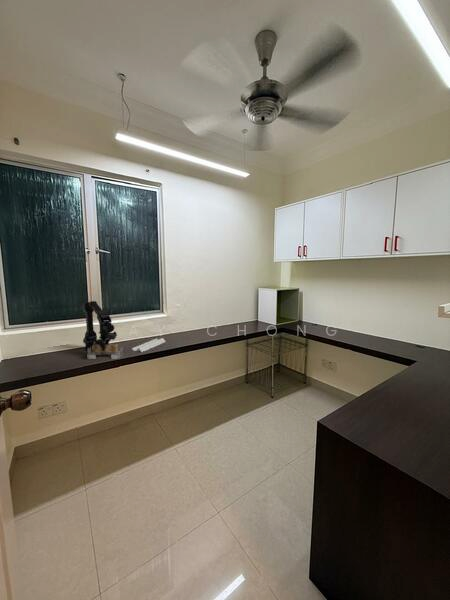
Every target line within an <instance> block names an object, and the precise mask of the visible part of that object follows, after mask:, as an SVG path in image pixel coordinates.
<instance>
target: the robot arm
mask: <svg viewBox="0 0 450 600" xmlns="http://www.w3.org/2000/svg"><path fill="white" fill-rule="evenodd" d="M81 308H82V311H83V312H84V313H85V323H86V331H85V333H84V337H83V339H82V342H83V343H84V345H85V346H84V347H85V349H84V351H88V348H89V347H91V351H92V345H94V344H99V345H100V347H101V348H102V350H103V351H105V344H110V342H111V340H112V341H114V340H116V338H117V337H118V334H117V332H116V331H115V326H114V325H113V324H112V318H111V316H110V314H109V313H108V312H107V311H104V310H103V309H102V308H101V306H100V305H99V304H98V302H97V301H96V300H92V301H88V302H83V303H82V305H81ZM93 313H95V314H96V318H97V320H98V324H99V332H98V334H99V335H100V336H97V332H96V331H95V330H94V319H93V318H94V317H93V316H94V315H93ZM98 337H99V338H98Z"/></svg>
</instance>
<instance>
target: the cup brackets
mask: <svg viewBox="0 0 450 600" xmlns="http://www.w3.org/2000/svg"><path fill="white" fill-rule="evenodd" d="M123 348H124V347H122V346H121V347H119V350H118V351H117V352H114V353H113V354H111V355H110V357H111V359H112V360H113V359H116V360H117V359H120V358H122V357H123V356H124V351H123V350H124V349H123ZM97 356H101V352H92V350H91V347H89V348H88V350H87V359H89V360H92V359H95V360H96V359H97Z"/></svg>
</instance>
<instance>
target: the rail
mask: <svg viewBox="0 0 450 600" xmlns="http://www.w3.org/2000/svg"><path fill="white" fill-rule="evenodd" d="M117 351H119V344H118V343H116V344H115V343H109V344H105V351H103V350H102V348H101V347H100V345H99V344H94V345H92V350H91V352H100V353H115V352H117Z"/></svg>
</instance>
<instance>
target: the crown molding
mask: <svg viewBox="0 0 450 600" xmlns="http://www.w3.org/2000/svg"><path fill="white" fill-rule="evenodd" d="M166 342H167V341H166V339H164V338H163V337H161V338H159V339H158V338H154V339H152V340H150V341H147V342H144V343H142V344H140V345H137V346H135V347H132V348H131V349H130V351H134V352H140V353H143V351H144V352H145V351H149V350H150V348H151V349H152V348H155V347H157V346H159V345H161V344H164V343H166Z"/></svg>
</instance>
